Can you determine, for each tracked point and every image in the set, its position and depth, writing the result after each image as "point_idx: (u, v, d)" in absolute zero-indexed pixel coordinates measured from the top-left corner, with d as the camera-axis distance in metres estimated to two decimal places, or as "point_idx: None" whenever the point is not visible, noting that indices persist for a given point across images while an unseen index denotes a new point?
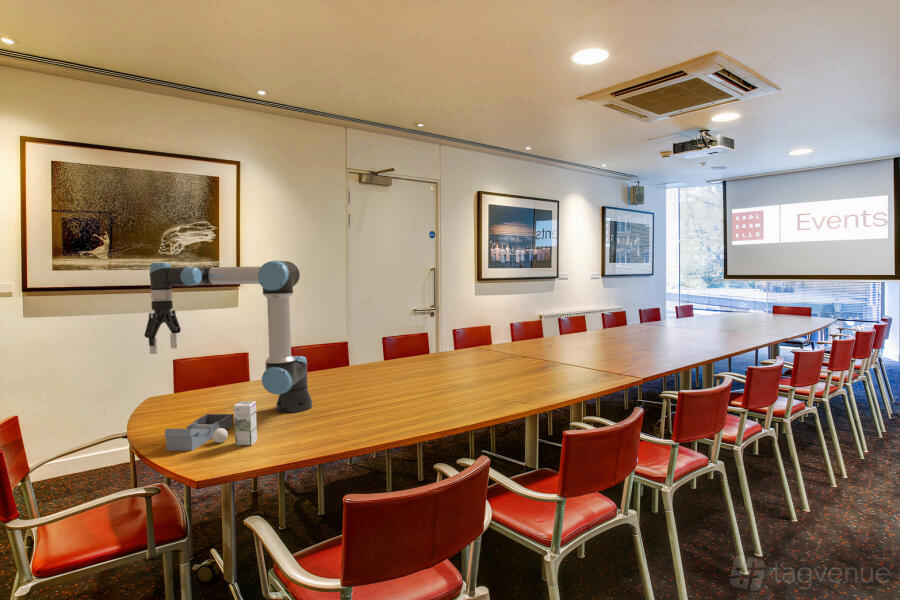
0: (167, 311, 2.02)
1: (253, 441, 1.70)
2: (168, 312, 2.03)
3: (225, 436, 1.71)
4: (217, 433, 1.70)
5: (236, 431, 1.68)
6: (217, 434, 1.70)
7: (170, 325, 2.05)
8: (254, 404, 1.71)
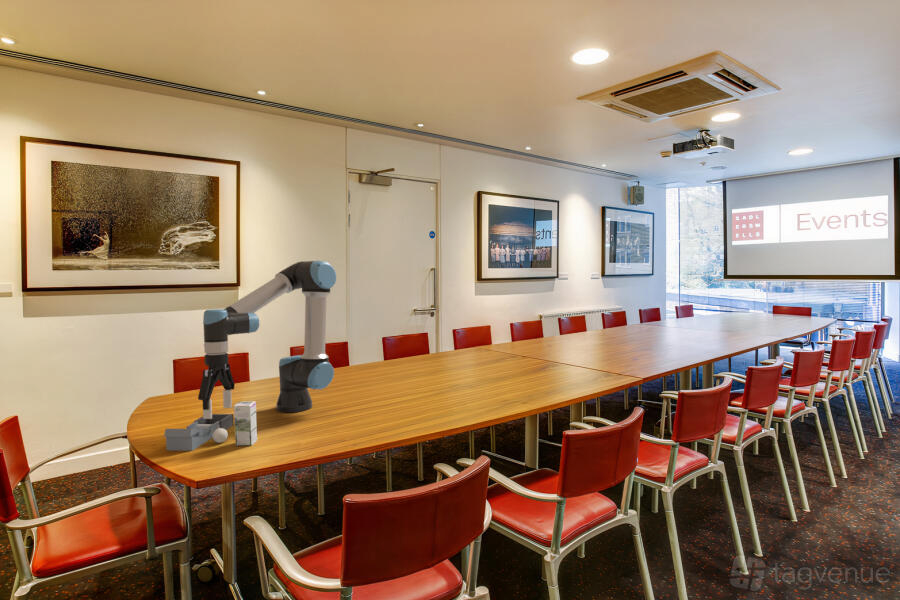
0: (222, 366, 1.72)
1: (253, 441, 1.70)
2: (223, 367, 1.73)
3: (225, 436, 1.71)
4: (217, 433, 1.70)
5: (236, 431, 1.68)
6: (217, 434, 1.70)
7: (224, 381, 1.75)
8: (254, 404, 1.71)
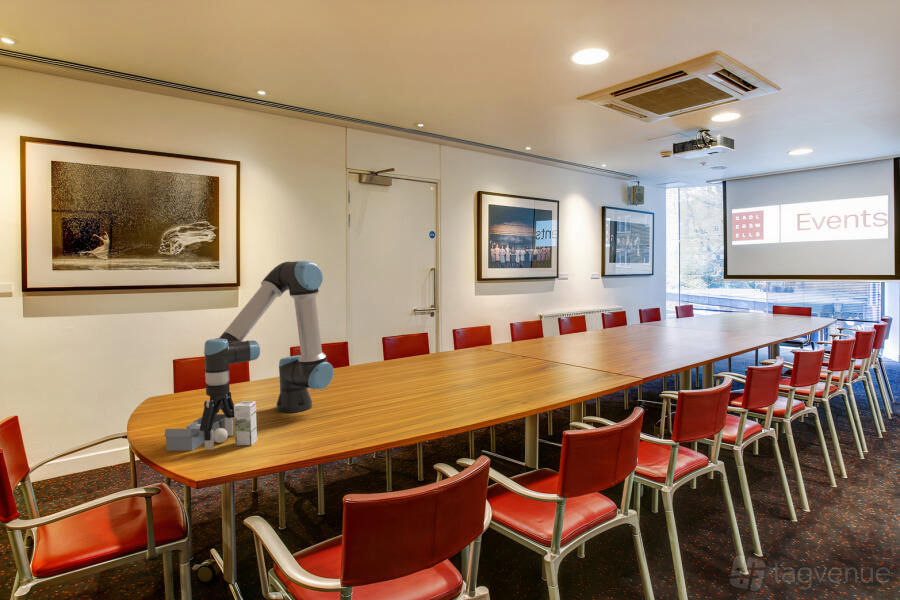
0: (223, 395, 1.73)
1: (253, 441, 1.70)
2: (224, 396, 1.73)
3: (225, 436, 1.71)
4: (217, 433, 1.70)
5: (236, 431, 1.68)
6: (217, 434, 1.70)
7: (225, 410, 1.76)
8: (254, 404, 1.71)
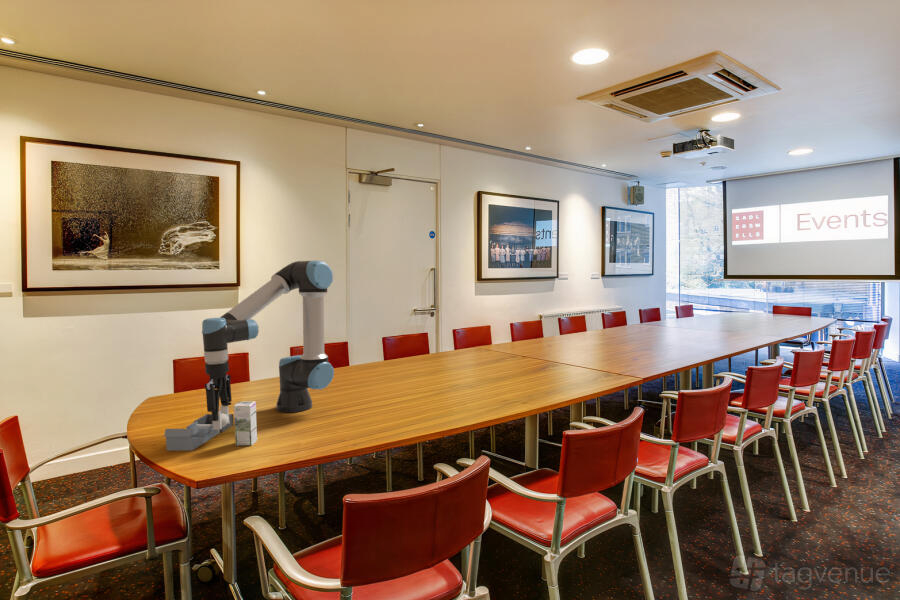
0: None
1: (253, 441, 1.70)
2: (224, 374, 1.73)
3: (226, 421, 1.71)
4: None
5: (236, 431, 1.68)
6: None
7: (222, 393, 1.73)
8: (254, 404, 1.71)
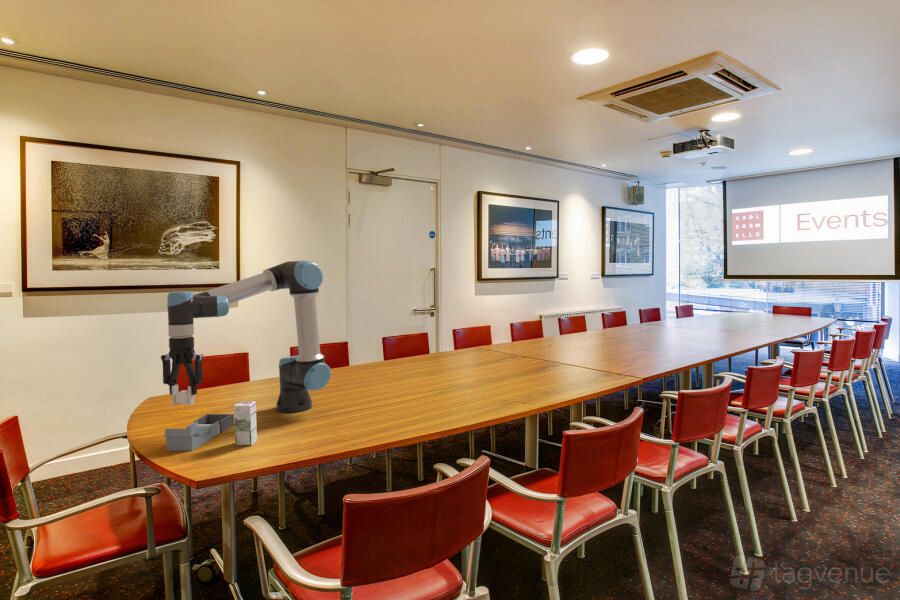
0: (186, 349, 1.64)
1: (253, 441, 1.70)
2: (187, 351, 1.64)
3: (177, 399, 1.64)
4: None
5: (236, 431, 1.68)
6: None
7: None
8: (254, 404, 1.71)
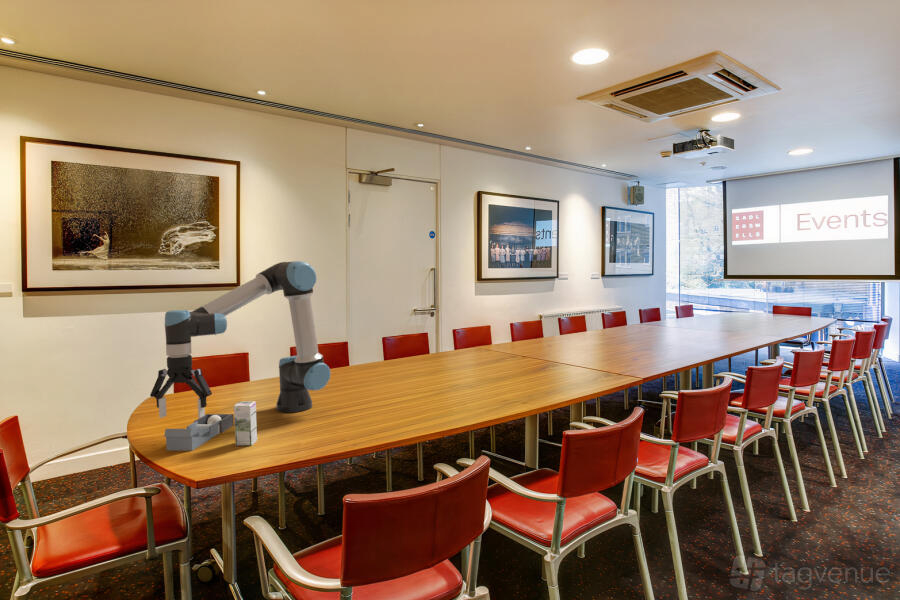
0: (182, 370, 1.64)
1: (253, 441, 1.70)
2: (184, 371, 1.64)
3: None
4: None
5: (236, 431, 1.68)
6: None
7: None
8: (254, 404, 1.71)
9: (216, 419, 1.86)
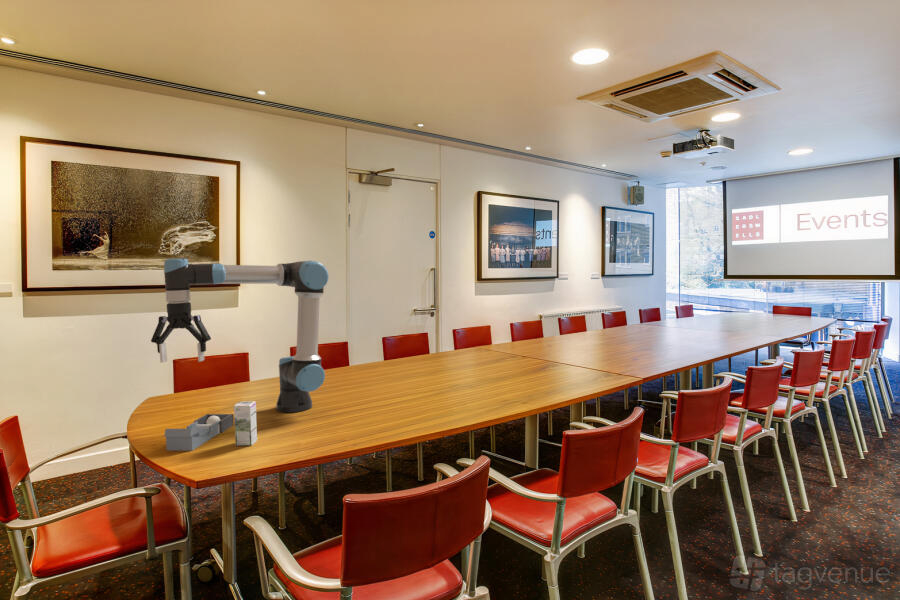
0: (182, 316, 1.71)
1: (253, 441, 1.70)
2: (184, 317, 1.71)
3: None
4: None
5: (236, 431, 1.68)
6: None
7: None
8: (254, 404, 1.71)
9: (214, 421, 1.84)
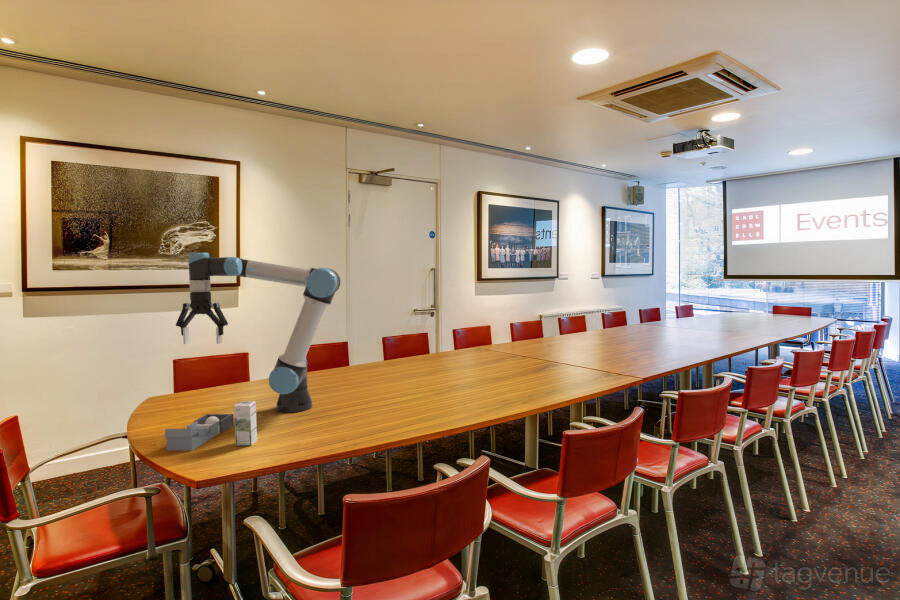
0: (203, 303, 1.94)
1: (253, 441, 1.70)
2: (204, 304, 1.94)
3: None
4: None
5: (236, 431, 1.68)
6: None
7: None
8: (254, 404, 1.71)
9: None
